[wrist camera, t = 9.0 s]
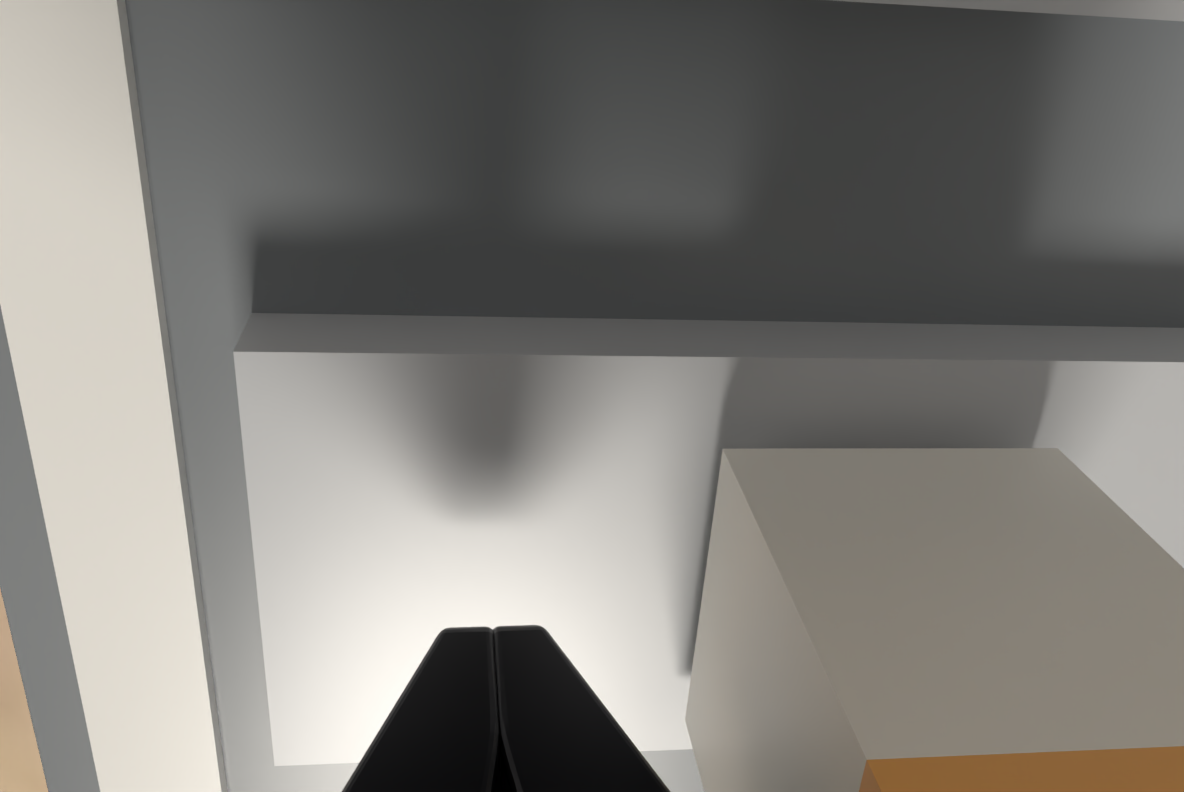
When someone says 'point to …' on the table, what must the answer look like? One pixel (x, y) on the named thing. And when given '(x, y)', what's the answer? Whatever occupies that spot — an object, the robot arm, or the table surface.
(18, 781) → the table surface
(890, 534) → the toggle mid
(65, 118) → the panel
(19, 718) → the table surface
